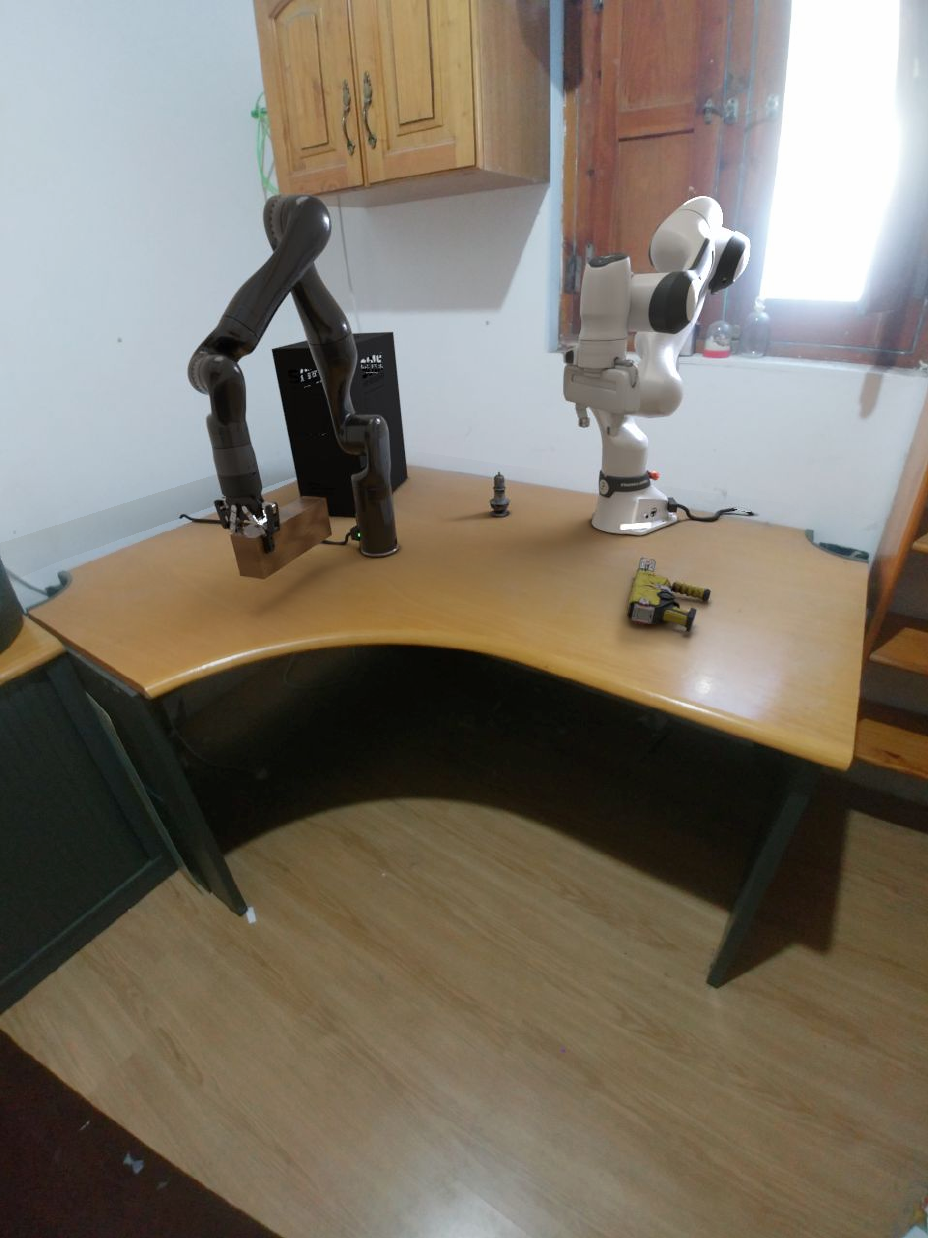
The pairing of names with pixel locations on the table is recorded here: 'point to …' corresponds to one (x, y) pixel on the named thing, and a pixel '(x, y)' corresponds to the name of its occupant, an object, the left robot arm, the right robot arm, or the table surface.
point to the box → (283, 538)
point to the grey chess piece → (499, 497)
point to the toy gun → (660, 598)
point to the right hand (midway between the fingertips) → (597, 431)
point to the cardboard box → (309, 418)
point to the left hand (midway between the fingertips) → (256, 550)
